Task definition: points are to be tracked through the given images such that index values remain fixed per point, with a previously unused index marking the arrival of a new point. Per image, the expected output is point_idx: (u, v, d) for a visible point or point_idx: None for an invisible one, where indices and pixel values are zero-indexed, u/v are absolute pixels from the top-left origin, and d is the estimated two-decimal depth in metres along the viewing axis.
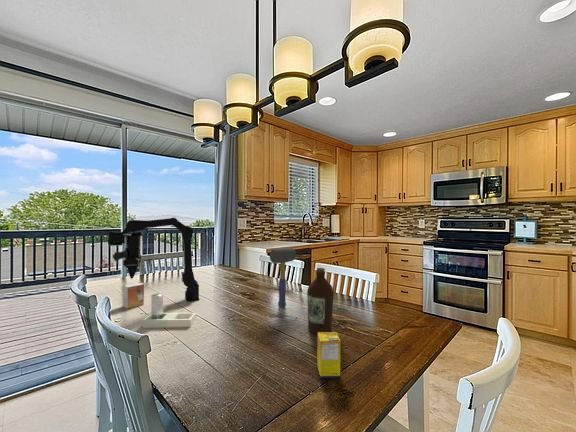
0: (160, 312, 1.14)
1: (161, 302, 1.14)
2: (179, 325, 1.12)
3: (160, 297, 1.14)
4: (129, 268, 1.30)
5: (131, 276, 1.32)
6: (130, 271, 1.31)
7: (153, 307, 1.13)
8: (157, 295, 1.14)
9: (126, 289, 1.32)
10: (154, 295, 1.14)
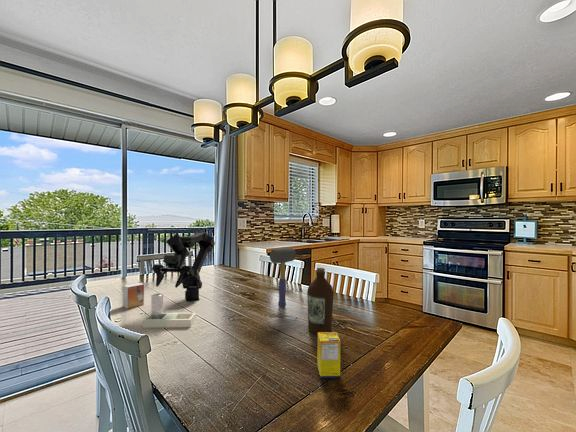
0: (160, 312, 1.14)
1: (161, 302, 1.14)
2: (179, 325, 1.12)
3: (160, 297, 1.14)
4: (182, 276, 1.25)
5: (177, 285, 1.23)
6: (180, 279, 1.24)
7: (153, 307, 1.13)
8: (157, 295, 1.14)
9: (126, 289, 1.32)
10: (154, 295, 1.14)
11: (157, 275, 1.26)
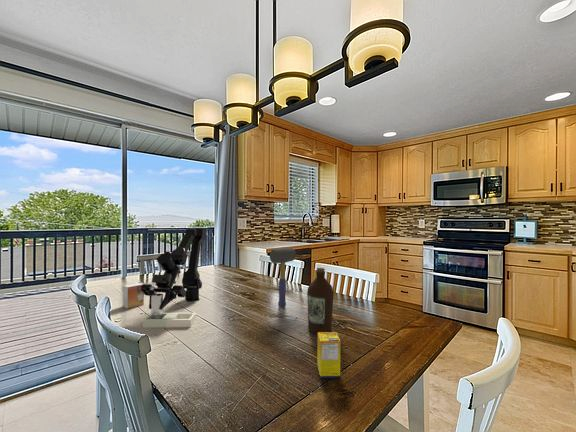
0: (160, 312, 1.14)
1: (161, 302, 1.14)
2: (179, 325, 1.12)
3: (160, 297, 1.14)
4: (168, 297, 1.16)
5: (162, 306, 1.14)
6: (166, 300, 1.15)
7: (153, 307, 1.13)
8: (157, 295, 1.14)
9: (126, 289, 1.32)
10: (154, 295, 1.14)
11: (150, 296, 1.16)
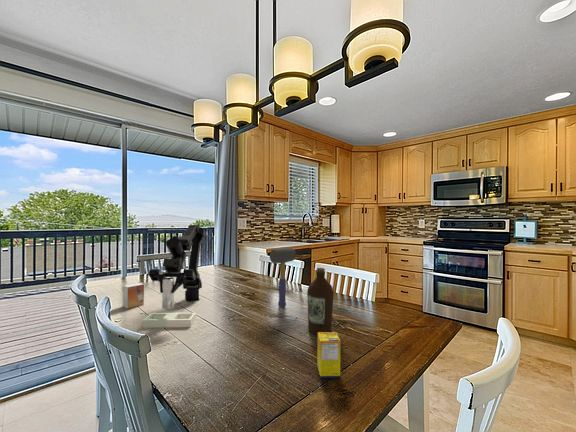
0: (172, 296, 1.14)
1: (172, 286, 1.15)
2: (179, 325, 1.12)
3: (172, 281, 1.14)
4: (179, 280, 1.17)
5: (174, 290, 1.14)
6: (177, 284, 1.16)
7: (165, 291, 1.13)
8: (168, 279, 1.14)
9: (126, 289, 1.32)
10: (165, 279, 1.14)
11: (160, 281, 1.16)
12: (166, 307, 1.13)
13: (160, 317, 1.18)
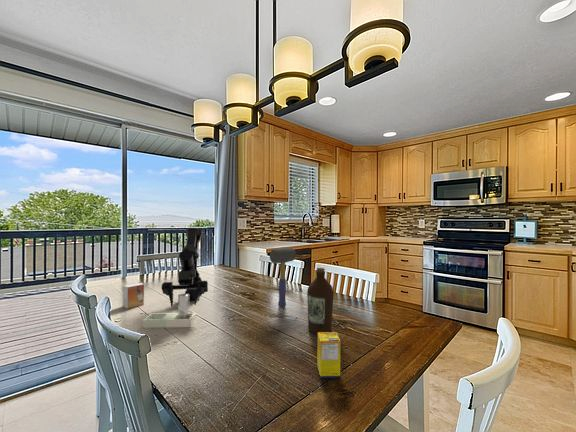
0: (188, 311, 1.15)
1: None
2: (179, 325, 1.12)
3: (188, 296, 1.15)
4: None
5: (196, 302, 1.16)
6: (198, 296, 1.18)
7: (182, 307, 1.14)
8: (184, 295, 1.15)
9: (126, 289, 1.32)
10: (181, 295, 1.15)
11: (169, 294, 1.15)
12: None
13: (160, 317, 1.18)
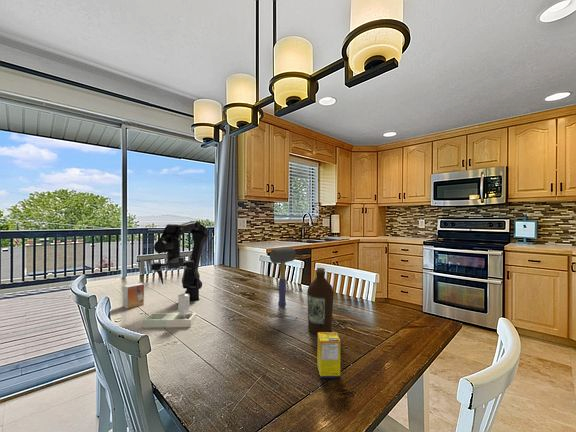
0: (188, 311, 1.15)
1: None
2: (179, 325, 1.12)
3: (188, 296, 1.15)
4: None
5: (184, 280, 1.33)
6: None
7: (182, 307, 1.14)
8: (184, 295, 1.15)
9: (126, 289, 1.32)
10: (181, 295, 1.15)
11: (160, 274, 1.27)
12: None
13: (160, 317, 1.18)
